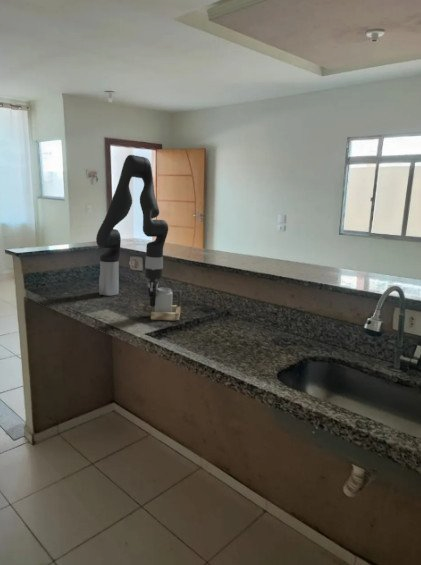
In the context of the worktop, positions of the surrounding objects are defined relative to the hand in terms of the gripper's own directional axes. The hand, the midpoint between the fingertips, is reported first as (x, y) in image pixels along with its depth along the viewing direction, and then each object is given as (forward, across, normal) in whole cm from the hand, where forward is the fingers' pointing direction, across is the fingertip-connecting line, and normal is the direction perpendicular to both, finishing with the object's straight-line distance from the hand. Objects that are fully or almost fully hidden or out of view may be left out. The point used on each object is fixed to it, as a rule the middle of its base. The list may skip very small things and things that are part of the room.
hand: (152, 305), depth 176 cm
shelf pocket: (+4, 0, +7) cm, 8 cm away
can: (+4, 0, +5) cm, 6 cm away
